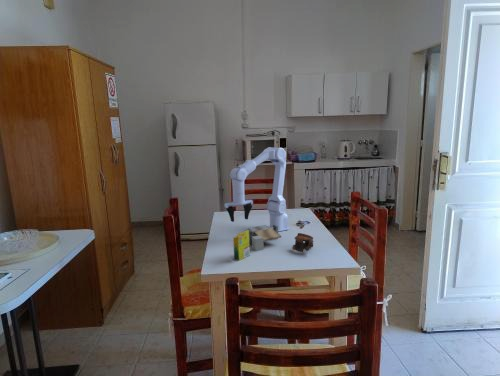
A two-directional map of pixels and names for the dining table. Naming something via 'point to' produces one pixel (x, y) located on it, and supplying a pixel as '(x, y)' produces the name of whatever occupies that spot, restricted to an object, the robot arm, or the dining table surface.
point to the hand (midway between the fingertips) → (239, 220)
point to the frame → (251, 234)
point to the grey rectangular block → (257, 243)
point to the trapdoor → (264, 232)
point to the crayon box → (241, 245)
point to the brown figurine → (303, 245)
